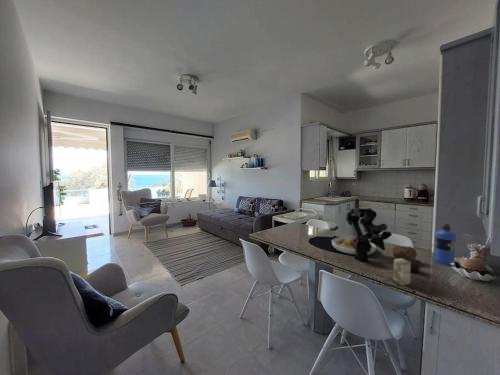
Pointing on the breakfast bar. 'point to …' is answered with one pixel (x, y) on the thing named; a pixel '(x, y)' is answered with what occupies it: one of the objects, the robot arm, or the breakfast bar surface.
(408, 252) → the decorative rock
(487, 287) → the breakfast bar surface
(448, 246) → the water bottle
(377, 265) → the breakfast bar surface
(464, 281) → the breakfast bar surface
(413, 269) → the end cap
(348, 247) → the bowl
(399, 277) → the beech block
